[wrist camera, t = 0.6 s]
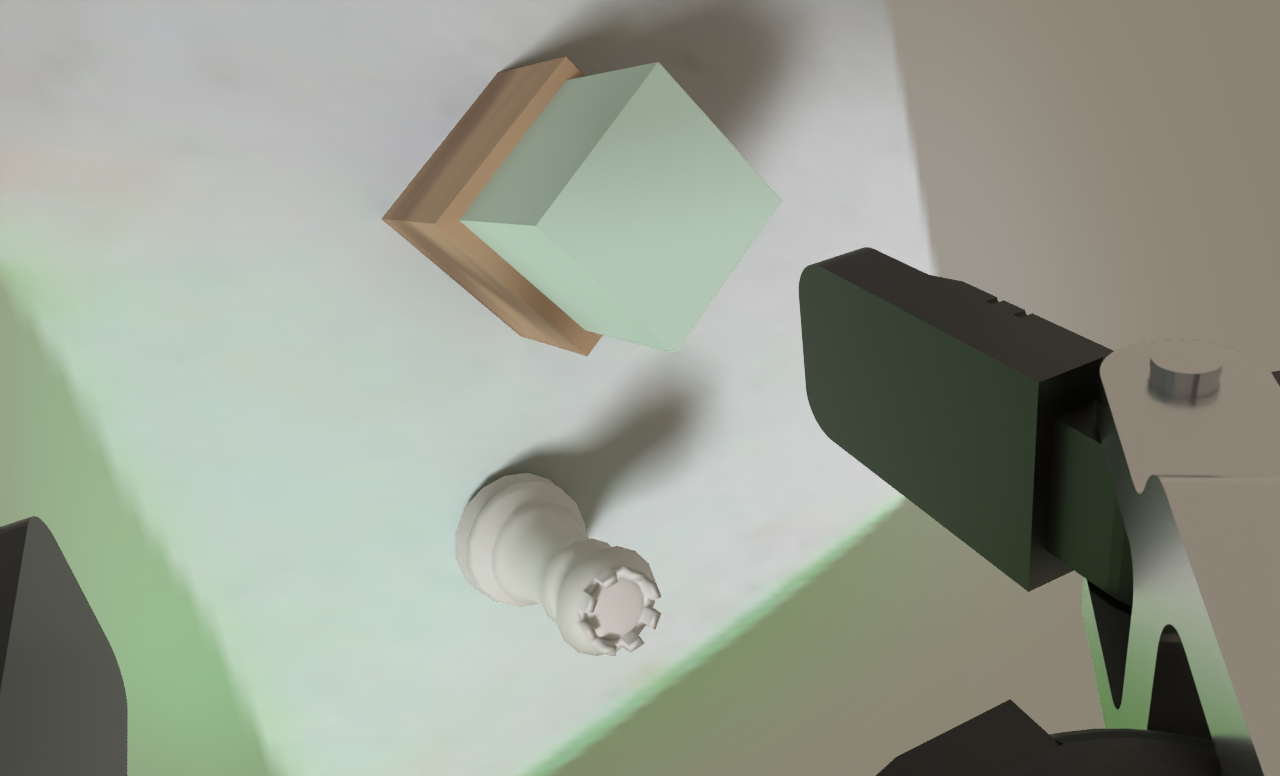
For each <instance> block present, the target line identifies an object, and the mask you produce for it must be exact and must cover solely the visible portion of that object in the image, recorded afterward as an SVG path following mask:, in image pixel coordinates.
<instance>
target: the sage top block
mask: <svg viewBox="0 0 1280 776" xmlns="http://www.w3.org/2000/svg"><path fill="white" fill-rule="evenodd" d="M781 202H782V199H781V198H780V197H779V196H778V195H777V194H776V193H775V192H774V191H773V189H772V188H771V187H770V186H769V185H768V184H767V183H766V182H765V180H764V179H763V178H762V177H761V176H760V175H759V174H758V173H757V171H756V170H755V169H754V168H753V167H752V166H751V165H750V164H749V163H748V161H747V160H746V159H745V158H744V157H743V156H742V155H741V154H740V152H739V151H738V150H737V149H736V148H735V147H734V146H733V145H732V144H731V142H730V141H729V140H728V139H727V138H726V137H725V136H724V135H723V133H722V132H721V131H720V130H719V129H718V128H717V127H716V126H715V124H714V123H713V122H712V121H711V120H710V119H709V118H708V117H707V116H706V114H705V113H704V112H703V111H702V110H701V109H700V108H699V107H698V105H697V104H696V103H695V102H694V101H693V100H692V99H691V98H690V96H689V95H688V94H687V93H686V92H685V91H684V90H683V89H682V88H681V86H680V85H679V84H678V83H677V82H676V81H675V80H674V79H673V77H672V76H671V75H670V74H669V73H668V72H667V71H666V70H665V68H664V67H663V66H662V65H661V64H660V63H659V62H655V63H650V64H645V65H640V66H635V67H630V68H625V69H620V70H615V71H610V72H605V73H600V74H595V75H590V76H585V77H580V78H575V79H570V80H566V81H565V82H564V83H563V85H562V86H561V87H560V88H559V90H558V91H557V92H556V94H555V95H554V96H553V98H552V99H551V100H550V102H549V103H548V104H547V105H546V107H545V108H544V109H543V111H542V112H541V113H540V115H539V116H538V117H537V119H536V120H535V121H534V122H533V124H532V125H531V126H530V128H529V129H528V130H527V132H526V133H525V134H524V136H523V137H522V138H521V139H520V141H519V142H518V143H517V145H516V146H515V147H514V149H513V150H512V151H511V152H510V154H509V155H508V156H507V158H506V159H505V160H504V162H503V163H502V164H501V166H500V167H499V168H498V169H497V171H496V172H495V173H494V175H493V176H492V177H491V179H490V180H489V181H488V183H487V184H486V185H485V186H484V188H483V189H482V190H481V192H480V193H479V194H478V196H477V197H476V198H475V200H474V201H473V202H472V203H471V205H470V206H469V207H468V209H467V210H466V211H465V213H464V214H463V215H462V217H461V218H460V219H459V221H460V222H462V223H463V224H464V225H465V226H466V227H467V228H468V229H470V230H471V231H472V232H473V233H474V234H475V235H476V236H478V237H479V238H480V239H481V240H482V241H483V242H485V243H486V244H487V245H488V246H489V247H490V248H491V249H493V250H494V251H495V252H496V253H497V254H498V255H499V256H501V257H502V258H503V259H504V260H505V261H506V262H507V263H509V264H510V265H511V266H512V267H513V268H514V269H515V270H517V271H518V272H519V273H520V274H521V275H522V276H523V277H525V278H526V279H527V280H528V281H529V282H530V283H532V284H533V285H534V286H535V287H536V288H537V289H538V290H540V291H541V292H542V293H543V294H544V295H545V296H546V297H548V298H549V299H550V300H551V301H552V302H553V303H554V304H556V305H557V306H558V307H559V308H560V309H561V310H562V311H564V312H565V313H566V314H567V315H568V316H569V317H570V318H572V319H573V320H574V321H575V322H576V323H577V324H579V325H580V326H581V327H582V328H583V329H584V330H586V331H590V332H593V333H597V334H601V335H605V336H609V337H613V338H617V339H620V340H624V341H628V342H632V343H636V344H640V345H644V346H648V347H651V348H655V349H659V350H663V351H667V352H671V353H675V354H676V352H677V351H678V349H679V348H680V347H681V345H682V344H683V342H684V341H685V339H686V338H687V337H688V335H689V334H690V332H691V331H692V329H693V328H694V326H695V325H696V324H697V322H698V321H699V319H700V318H701V316H702V315H703V314H704V312H705V311H706V309H707V308H708V306H709V305H710V304H711V302H712V301H713V299H714V298H715V296H716V295H717V294H718V292H719V291H720V289H721V288H722V286H723V285H724V283H725V282H726V281H727V279H728V278H729V276H730V275H731V273H732V272H733V271H734V269H735V268H736V266H737V265H738V263H739V262H740V261H741V259H742V258H743V256H744V255H745V253H746V252H747V250H748V249H749V248H750V246H751V245H752V243H753V242H754V240H755V239H756V238H757V236H758V235H759V233H760V232H761V230H762V229H763V228H764V226H765V225H766V223H767V222H768V220H769V219H770V217H771V216H772V215H773V213H774V212H775V210H776V209H777V207H778V206H779V205H780V203H781Z"/></svg>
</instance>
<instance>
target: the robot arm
mask: <svg viewBox="0 0 1280 776" xmlns="http://www.w3.org/2000/svg"><path fill="white" fill-rule="evenodd" d="M799 300H800V313H801V326H802V340H803V353H804V366H805V379H806V390H807V396H808V400H809V404H810V407H811V409H812V412H813V414H814V417H815V419H816V421H817V422H818V424H819V426H820V427H821V429H822V430H823V431H824V433H825V434H826V435H827V436H828V437H829V438H830V439H831V440H832V441H834V442H835V443H836V444H838V445H839V446H840V447H841V448H843V449H844V450H845V451H847V452H848V453H849V454H850V455H852V456H853V457H854V458H856V459H857V460H858V461H860V462H861V463H862V464H863V465H865V466H866V467H867V468H869V469H870V470H871V471H873V472H874V473H875V474H876V475H878V476H879V477H880V478H882V479H883V480H884V481H885V482H887V483H888V484H889V485H891V486H892V487H893V488H895V489H896V490H897V491H898V492H900V493H901V494H902V495H904V496H905V497H906V498H908V499H909V500H910V501H911V502H913V503H914V504H915V505H917V506H918V507H919V508H920V509H922V510H923V511H925V512H926V513H927V514H928V515H930V516H931V517H932V518H934V519H935V520H936V521H938V522H939V523H940V524H941V525H943V526H944V527H945V528H947V529H948V530H949V531H950V532H952V533H953V534H954V535H955V536H957V537H958V538H959V539H961V540H962V541H963V542H965V543H966V544H967V545H968V546H970V547H971V548H972V549H974V550H975V551H976V552H978V553H979V554H980V555H981V556H983V557H984V558H985V559H987V560H988V561H989V562H990V563H992V564H993V565H994V566H996V567H997V568H998V569H1000V570H1001V571H1002V572H1003V573H1005V574H1006V575H1007V576H1009V577H1010V578H1011V579H1013V580H1014V581H1015V582H1016V583H1018V584H1019V585H1020V586H1022V587H1023V588H1024V589H1026V590H1027V591H1028V592H1029V591H1031V590H1033V589H1035V588H1037V587H1040V586H1042V585H1044V584H1046V583H1048V582H1050V581H1052V580H1054V579H1057V578H1059V577H1061V576H1063V575H1065V574H1067V573H1069V572H1071V571H1073V570H1075V571H1076V572H1077V573H1079V574H1080V575H1082V576H1083V582H1082V594H1081V609H1082V614H1083V619H1084V624H1085V629H1086V633H1087V638H1088V644H1089V649H1090V654H1091V659H1092V664H1093V669H1094V674H1095V679H1096V684H1097V689H1098V693H1099V699H1100V704H1101V709H1102V714H1103V719H1104V724H1105V729H1089V730H1081V731H1071V732H1062V733H1056V734H1051V735H1049V734H1048V733H1047V732H1045V731H1044V730H1043V729H1042V728H1041V727H1040V726H1039V725H1038V724H1037V723H1035V722H1034V721H1033V720H1032V719H1031V718H1030V717H1029V716H1028V715H1027V714H1026V713H1024V712H1023V711H1022V710H1021V709H1020V708H1019V707H1018V706H1017V705H1016V704H1015V703H1014V702H1012V701H1011V700H1008V701H1006V702H1004V703H1002V704H1000V705H998V706H996V707H994V708H992V709H991V710H988V711H986V712H984V713H983V714H980V715H979V716H977V717H974V718H973V719H971V720H969V721H967V722H965V723H963V724H961V725H959V726H957V727H955V728H953V729H951V730H949V731H947V732H945V733H943V734H941V735H939V736H937V737H935V738H933V739H931V740H929V741H927V742H925V743H923V744H921V745H919V746H917V747H915V748H913V749H911V750H909V751H907V752H905V753H903V754H901V755H899V756H898V757H896V758H895V759H894V760H893V761H892V762H890V763H889V764H888V765H887V766H886V767H885V768H884V769H883V770H882V771H881V772H880V773H878V774H877V775H876V776H1280V371H1276V372H1270V371H1269V369H1268V368H1267V367H1266V366H1265V365H1264V364H1262V363H1261V362H1260V361H1259V360H1257V359H1255V358H1254V357H1252V356H1250V355H1248V354H1246V353H1243V352H1241V351H1239V350H1236V349H1233V348H1230V347H1227V346H1223V345H1218V344H1215V343H1210V342H1203V341H1197V340H1185V339H1162V340H1151V341H1144V342H1139V343H1135V344H1130V345H1128V346H1125V347H1122V348H1120V349H1118V350H1116V351H1112V350H1111V349H1108V348H1106V347H1104V346H1102V345H1100V344H1097V343H1095V342H1093V341H1091V340H1089V339H1087V338H1084V337H1082V336H1080V335H1078V334H1076V333H1074V332H1071V331H1069V330H1067V329H1065V328H1063V327H1060V326H1058V325H1056V324H1054V323H1052V322H1050V321H1047V320H1045V319H1043V318H1041V317H1039V316H1036V315H1034V314H1030V315H1026V313H1025V310H1023V309H1021V308H1019V307H1017V306H1015V305H1013V304H1010V303H1008V302H1006V301H1001V302H998V300H997V297H995V296H993V295H991V294H989V293H986V292H984V291H982V290H980V289H978V288H976V287H973V286H971V285H969V284H967V283H965V282H962V281H957V280H952V279H946V278H942V277H937V276H931V275H928V274H926V273H923V272H921V271H919V270H917V269H915V268H913V267H911V266H909V265H907V264H904V263H902V262H900V261H898V260H896V259H894V258H892V257H890V256H887V255H885V254H883V253H881V252H879V251H877V250H875V249H872V248H866V247H865V248H861V249H858V250H855V251H852V252H849V253H846V254H843V255H840V256H837V257H834V258H830V259H827V260H824V261H821V262H818V263H815V264H812V265H809V266H807V267H806V268H805V269H804V270H803V272H802V274H801V277H800V281H799ZM0 776H127V699H126V693H125V688H124V684H123V679H122V676H121V672H120V669H119V666H118V663H117V660H116V657H115V655H114V652H113V650H112V648H111V646H110V644H109V641H108V640H107V638H106V636H105V634H104V632H103V630H102V628H101V626H100V624H99V623H98V620H97V618H96V616H95V615H94V613H93V611H92V609H91V607H90V605H89V603H88V601H87V599H86V597H85V595H84V594H83V592H82V590H81V588H80V586H79V584H78V582H77V580H76V578H75V576H74V574H73V573H72V570H71V569H70V567H69V565H68V563H67V561H66V559H65V557H64V555H63V553H62V551H61V549H60V547H59V546H58V544H57V542H56V540H55V538H54V536H53V535H52V533H51V531H50V530H49V528H48V527H47V526H46V524H45V523H44V522H43V521H42V520H41V519H40V518H38V517H35V516H33V517H30V518H27V519H24V520H20V521H17V522H15V523H11V524H8V525H5V526H2V527H0Z"/></svg>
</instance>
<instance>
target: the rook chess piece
mask: <svg viewBox="0 0 1280 776" xmlns="http://www.w3.org/2000/svg"><path fill="white" fill-rule="evenodd" d="M455 545H456V560H457V562H458V564H459V567H460V569H461V571H462V573H463V575H464V577H465V580H466V581H468V582H469V583H470V584H471V585H473V586H474V587H475V588H476V589H478V590H479V591H480V592H481V593H482V594H485V595H487V596H488V597H490V598H491V599H492V600H493V601H496V602H501V603H505V604H510V605H514V606H519V607H523V606H528V605H533V604H541V605H543V607H544V609H545V611H546V613H547V616H548V617H549V618H550V619H552V620H553V621H554V622H555V623H556V624H557V625H558V627H559V630H560V632H561V634H562V637H563V639H564V641H565V642H567V643H568V644H569V645H570V646H572V647H573V648H574V649H575V650H576V651H578V652H580V653H585V654H590V655H595V656H599V655H603V654H607V655H611V656H615V655H616V651H618V650H619V649H621V648H622V647H624V648H625V649H626V650H628V651H629V652H630V653H631V652H632V651H634V650H635V649H637V648H638V647H640V646H641V645H643V644H644V642H643V641H642V639H641V638H640V636H638V635H639V633H640V632H641V631H642V630H643V628H644V627H645V626H646V625H648V626H649V627H651V628H653V629H655V628H656V626H657V623H658V620H659V617H660V615H661V613H660V612H658V611H657V610H656V609H654V608H653V606H654V603H655V599H658V598H660V597H661V595H660V592H659V589H658V587H657V584H656V583H655V579H654V577H653V574H652V572H651V569H650V566H649V564H648V563H647V562H646V561H645V560H644V559H643V558H642V557H641V556H640V555H639V554H638V553H637V552H636V551H633V550H629V549H626V548H622V547H618V546H616V547H611V546H610V545H609V544H608V543H605V542H602V541H598V540H595V539H589V538H588V537H587V534H586V525H585V523H584V520H583V518H582V515H581V513H580V510H579V508H578V506H577V504H576V502H575V501H574V500H573V499H572V498H571V497H569V496H568V495H567V494H566V493H565V492H564V491H563V490H562V489H561V488H560V487H557V486H556V485H555V484H554V483H553V482H552V481H551V480H550V479H547V478H544V477H541V476H537V475H534V474H531V473H522V474H514V475H506V476H503V477H501V478H499V479H498V480H496V481H494V482H492V483H490V484H489V485H487V486H485V487H483V488H482V489H481V490H480V491H479V492H478V493H477V495H476V496H475V497H474V498H473V499H472V500H471V502H470V503H469V504H468V505H467V506H466V507H465V509H464V511H463V514H462V517H461V519H460V522H459V525H458V527H457V530H456V533H455Z"/></svg>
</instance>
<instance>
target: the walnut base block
mask: <svg viewBox="0 0 1280 776" xmlns="http://www.w3.org/2000/svg"><path fill="white" fill-rule="evenodd" d="M580 77H585V76H584V75H583V74H582V73H581V72H580V71H579V70H578V69H577V68H576V67H575V65H574V64H573V63H572V62H571V61H570V60H569V59H568V58H567V57H566V56H565V57H561V58H557V59H553V60H549V61H544V62H540V63H536V64H532V65H528V66H524V67H520V68H516V69H512V70H508V71H504V72H500V73H497V74H496V76H495V77H494V78H493V79H492V81H491V82H490V83H489V84H488V86H487V87H486V88H485V89H484V91H483V92H482V93H481V95H480V96H479V97H478V98H477V100H476V101H475V102H474V103H473V105H472V106H471V107H470V108H469V110H468V111H467V112H466V113H465V115H464V116H463V117H462V118H461V120H460V121H459V122H458V123H457V125H456V126H455V127H454V129H453V130H452V131H451V132H450V134H449V135H448V136H447V137H446V139H445V140H444V141H443V142H442V144H441V145H440V146H439V147H438V149H437V150H436V151H435V152H434V154H433V155H432V156H431V157H430V159H429V160H428V161H427V163H426V164H425V165H424V166H423V168H422V169H421V170H420V171H419V173H418V174H417V175H416V176H415V178H414V179H413V180H412V181H411V183H410V184H409V185H408V186H407V188H406V189H405V190H404V191H403V193H402V194H401V195H400V196H399V198H398V199H397V200H396V202H395V203H394V204H393V205H392V207H391V208H390V209H389V210H388V212H387V213H386V214H385V215H384V217H383V218H382V220H383V221H385V222H386V223H387V224H388V225H389V226H391V227H392V228H393V229H394V230H395V231H396V232H398V233H399V234H400V235H401V236H402V237H404V238H405V239H406V240H407V241H408V242H410V243H411V244H412V245H413V246H414V247H415V248H417V249H418V250H419V251H420V252H421V253H423V254H424V255H425V256H426V257H427V258H429V259H430V260H431V261H432V262H433V263H434V264H436V265H437V266H438V267H439V268H440V269H442V270H443V271H444V272H445V273H446V274H447V275H449V276H450V277H451V278H452V279H453V280H455V281H456V282H457V283H458V284H459V285H461V286H462V287H463V288H464V289H465V290H466V291H468V292H469V293H470V294H471V295H472V296H474V297H475V298H476V299H477V300H478V301H480V302H481V303H482V304H483V305H484V306H485V307H487V308H488V309H489V310H490V311H491V312H493V313H494V314H495V315H496V316H497V317H499V318H500V319H501V320H502V321H503V322H504V323H506V324H507V325H508V326H509V327H510V328H512V329H513V330H514V331H515V332H516V333H517V334H519V335H520V336H522V337H526V338H529V339H532V340H536V341H539V342H542V343H546V344H549V345H552V346H555V347H559V348H562V349H565V350H569V351H572V352H575V353H578V354H582V355H585V356H588V355H589V353H590V352H591V350H592V349H593V348H594V346H595V345H596V344H597V342H598V341H599V339H600V338H601V337H602V335H601V334H597V333H593V332H590V331H586V330H584V329H583V328H582V327H581V326H580V325H579V324H577V323H576V322H575V321H574V320H573V319H572V318H570V317H569V316H568V315H567V314H566V313H565V312H564V311H562V310H561V309H560V308H559V307H558V306H557V305H556V304H554V303H553V302H552V301H551V300H550V299H549V298H548V297H546V296H545V295H544V294H543V293H542V292H541V291H540V290H538V289H537V288H536V287H535V286H534V285H533V284H532V283H530V282H529V281H528V280H527V279H526V278H525V277H523V276H522V275H521V274H520V273H519V272H518V271H517V270H515V269H514V268H513V267H512V266H511V265H510V264H509V263H507V262H506V261H505V260H504V259H503V258H502V257H501V256H499V255H498V254H497V253H496V252H495V251H494V250H493V249H491V248H490V247H489V246H488V245H487V244H486V243H485V242H483V241H482V240H481V239H480V238H479V237H478V236H476V235H475V234H474V233H473V232H472V231H471V230H470V229H468V228H467V227H466V226H465V225H464V224H463V223H462V222H460V221H459V219H460V218H461V217H462V215H463V214H464V213H465V211H466V210H467V209H468V207H469V206H470V205H471V203H472V202H473V201H474V200H475V198H476V197H477V196H478V194H479V193H480V192H481V190H482V189H483V188H484V186H485V185H486V184H487V183H488V181H489V180H490V179H491V177H492V176H493V175H494V173H495V172H496V171H497V169H498V168H499V167H500V166H501V164H502V163H503V162H504V160H505V159H506V158H507V156H508V155H509V154H510V152H511V151H512V150H513V149H514V147H515V146H516V145H517V143H518V142H519V141H520V139H521V138H522V137H523V136H524V134H525V133H526V132H527V130H528V129H529V128H530V126H531V125H532V124H533V122H534V121H535V120H536V119H537V117H538V116H539V115H540V113H541V112H542V111H543V109H544V108H545V107H546V105H547V104H548V103H549V102H550V100H551V99H552V98H553V96H554V95H555V94H556V92H557V91H558V90H559V88H560V87H561V86H562V85H563V83H564V82H565V81H566V80H570V79H575V78H580Z"/></svg>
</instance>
